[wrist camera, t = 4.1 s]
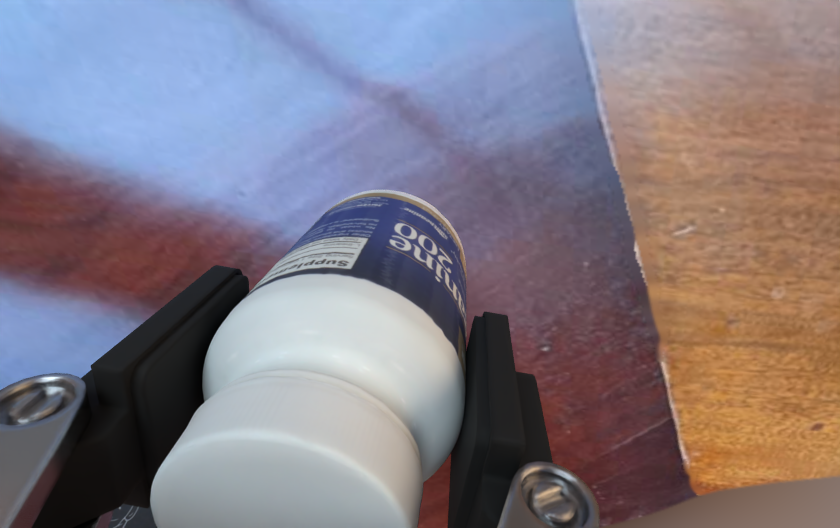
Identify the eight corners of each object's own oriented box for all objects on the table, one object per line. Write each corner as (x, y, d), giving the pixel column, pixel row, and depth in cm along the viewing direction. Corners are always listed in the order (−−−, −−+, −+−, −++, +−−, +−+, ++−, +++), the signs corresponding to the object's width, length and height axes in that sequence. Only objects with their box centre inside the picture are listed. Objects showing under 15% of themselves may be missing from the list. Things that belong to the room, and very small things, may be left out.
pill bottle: (489, 302, 16) (516, 619, 7) (354, 345, 17) (230, 655, 8) (430, 159, 14) (360, 340, 5) (284, 218, 15) (22, 446, 6)
